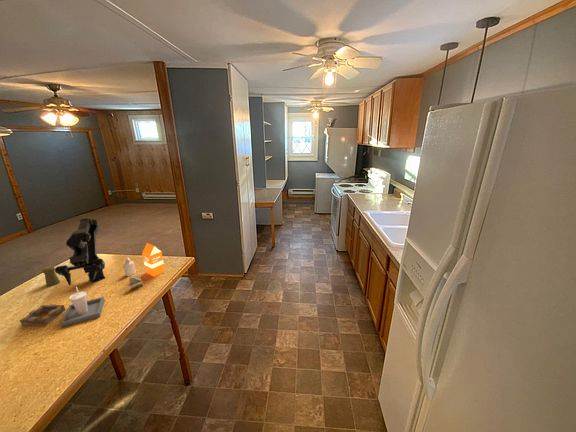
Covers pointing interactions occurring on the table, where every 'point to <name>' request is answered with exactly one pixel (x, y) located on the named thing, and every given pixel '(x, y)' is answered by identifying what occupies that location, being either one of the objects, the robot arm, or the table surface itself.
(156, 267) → the orange juice
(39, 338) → the table surface
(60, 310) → the clip collar
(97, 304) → the tray
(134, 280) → the architectural model
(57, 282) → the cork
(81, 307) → the smoothie
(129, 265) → the eye dropper bottle
